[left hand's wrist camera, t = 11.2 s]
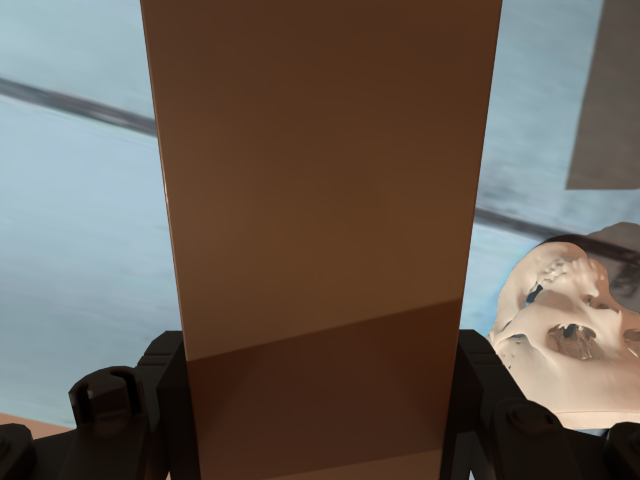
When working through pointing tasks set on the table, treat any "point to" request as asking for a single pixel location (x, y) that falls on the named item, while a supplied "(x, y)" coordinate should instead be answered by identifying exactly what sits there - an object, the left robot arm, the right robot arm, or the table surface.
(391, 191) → the bar
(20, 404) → the table surface
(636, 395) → the skull bowl
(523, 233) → the table surface
